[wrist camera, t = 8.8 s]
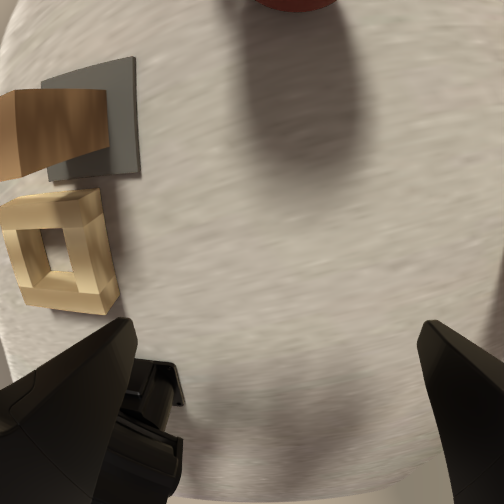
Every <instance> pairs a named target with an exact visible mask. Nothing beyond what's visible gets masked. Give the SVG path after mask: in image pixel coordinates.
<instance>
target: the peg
mask: <svg viewBox="0 0 504 504" xmlns="http://www.w3.org/2000/svg"><path fill="white" fill-rule="evenodd" d="M106 147H110V146H109V133H108V118H107V95H106V90H99V89H23V90H13V91H11V92H9V93H6V94H4V95H2V96H0V182H1V181H6V180H11V179H16V178H21V177H24V176H26V175H29V174H31V173H34V172H36V171H39V170H42V169H44V168H47V167H50V166H52V165H55V164H58V163H61V162H63V161H66V160H69V159H72V158H75V157H78V156H81V155H84V154H87V153H90V152H93V151H97V150H100V149H103V148H106Z"/></svg>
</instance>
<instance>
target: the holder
mask: <svg viewBox="0 0 504 504" xmlns="http://www.w3.org/2000/svg"><path fill="white" fill-rule="evenodd" d="M0 225H1V229H2V233H3V237H4V240H5V244H6V247H7V251H8V254H9V258H10V261H11V264H12V267H13V270H14V273H15V276H16V279H17V282H18V285H19V288H20V291H21V293H22V296H23V299H24V301H25V304H26V305H31V306H37V307H44V308H51V309H58V310H66V311H73V312H81V313H90V314H99V315H106V314H107V312H108V311H109V310H110V308H111V307H112V305H113V304H114V302H115V301H116V299H117V298H118V297H119V295H120V292H119V288H118V284H117V279H116V275H115V271H114V266H113V262H112V257H111V252H110V247H109V242H108V237H107V231H106V226H105V220H104V214H103V208H102V201H101V195H100V188H93V189H82V190H72V191H62V192H53V193H44V194H36V195H28V196H21V197H17V198H15V199H13V200H11V201H9V202H8V203H6V204H4V205H2V206H0ZM46 228H62V229H63V233H64V238H65V242H66V246H67V250H68V254H69V258H70V262H71V266H72V270H73V272H60V271H51V270H50V266H49V263H48V259H47V256H46V252H45V248H44V244H43V240H42V236H41V232H40V229H46Z"/></svg>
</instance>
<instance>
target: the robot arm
mask: <svg viewBox="0 0 504 504" xmlns="http://www.w3.org/2000/svg"><path fill="white" fill-rule="evenodd" d="M137 345H138V340H137V336H136V332H135V328H134V325H133V322H132V320H131V319H130V318H124V317H118V318H116V319H115V320H113V321H112V322H110V323H108V324H107V325H105V326H103V327H102V328H100V329H99V330H97V331H95V332H94V333H92V334H91V335H89V336H87V337H86V338H84V339H83V340H81V341H79V342H78V343H76V344H75V345H73V346H71V347H70V348H68V349H67V350H65V351H64V352H62V353H60V354H59V355H57V356H56V357H54V358H52V359H51V360H49V361H48V362H46V363H45V364H43V365H41V366H40V367H38V368H37V369H36V370H33V371H32V372H30V373H29V374H27V375H26V376H24V377H22V378H21V379H19V380H17V381H16V382H14V383H12V384H11V385H9V386H7V387H5V388H3V389H2V390H0V504H166V503H167V499H168V497H170V496H172V494H173V493H174V492H175V490H176V488H177V486H178V484H179V481H180V478H181V473H182V453H183V439H182V438H180V437H175V436H173V435H170V434H168V433H166V432H165V428H166V424H167V421H168V417H169V414H170V410H171V407H172V406H183V405H184V398H183V395H182V391H181V387H180V383H179V379H178V375H177V371H176V367H175V365H174V364H173V363H170V362H161V361H152V360H144V359H136V358H134V357H135V353H136V349H137ZM417 350H418V354H419V358H420V363H421V367H422V372H423V377H424V381H425V386H426V389H427V393H428V396H429V399H430V403H431V406H432V409H433V413H434V416H435V420H436V423H437V427H438V431H439V435H440V438H441V442H442V446H443V451H444V455H445V458H446V463H447V468H448V472H449V477H450V482H451V487H452V492H453V497H454V498H453V499H454V504H504V363H503V362H502V361H500V360H499V359H497V358H496V357H494V356H493V355H491V354H489V353H488V352H486V351H485V350H483V349H482V348H480V347H479V346H477V345H476V344H474V343H473V342H471V341H470V340H468V339H466V338H465V337H463V336H462V335H460V334H459V333H457V332H456V331H454V330H452V329H451V328H449V327H448V326H446V325H444V324H443V323H441V322H440V321H438V320H427V321H425V322H424V324H423V327H422V329H421V332H420V335H419V338H418V341H417ZM169 367H170V368H169Z"/></svg>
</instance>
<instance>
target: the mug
mask: <svg viewBox="0 0 504 504" xmlns="http://www.w3.org/2000/svg"><path fill="white" fill-rule="evenodd" d="M255 1H257V2H259V3H260V4H262V5H265V6H267V7H270V8H273V9H276V10H280V11H287V12H306V11H312V10H317V9H320V8H323V7H325V6H328V5H330V4H332V3H333V2H335V1H337V0H255Z"/></svg>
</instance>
